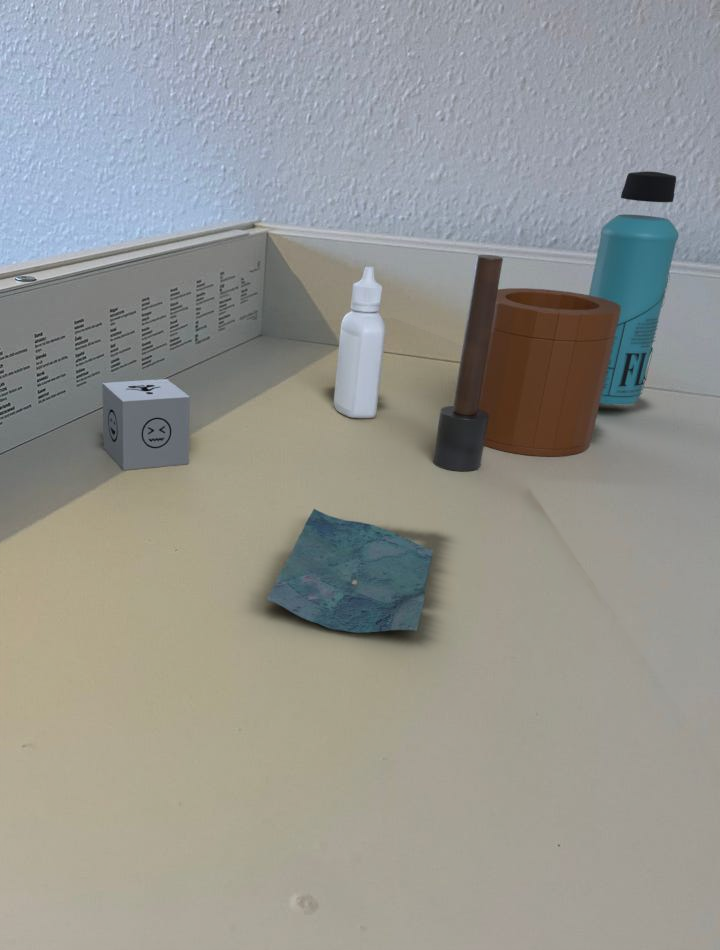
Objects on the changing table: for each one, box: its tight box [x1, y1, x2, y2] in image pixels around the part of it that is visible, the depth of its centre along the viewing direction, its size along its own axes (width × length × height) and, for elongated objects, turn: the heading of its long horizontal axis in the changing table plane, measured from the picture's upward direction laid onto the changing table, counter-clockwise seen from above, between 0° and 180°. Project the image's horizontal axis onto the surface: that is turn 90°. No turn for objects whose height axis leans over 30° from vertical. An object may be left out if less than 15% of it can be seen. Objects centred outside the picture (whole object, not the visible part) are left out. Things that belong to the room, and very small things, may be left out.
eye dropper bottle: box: [333, 266, 386, 419], centre depth 84 cm, size 4×6×12 cm
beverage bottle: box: [588, 170, 679, 406], centre depth 86 cm, size 6×7×20 cm
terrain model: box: [266, 508, 434, 634], centre depth 55 cm, size 13×8×2 cm, turn 165°
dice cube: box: [101, 378, 191, 471], centre depth 73 cm, size 5×5×5 cm
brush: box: [432, 254, 504, 472], centre depth 72 cm, size 4×4×15 cm
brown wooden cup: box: [478, 287, 621, 457], centre depth 80 cm, size 10×10×11 cm
